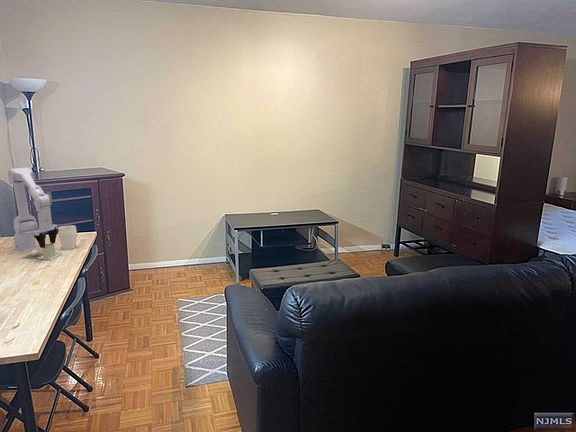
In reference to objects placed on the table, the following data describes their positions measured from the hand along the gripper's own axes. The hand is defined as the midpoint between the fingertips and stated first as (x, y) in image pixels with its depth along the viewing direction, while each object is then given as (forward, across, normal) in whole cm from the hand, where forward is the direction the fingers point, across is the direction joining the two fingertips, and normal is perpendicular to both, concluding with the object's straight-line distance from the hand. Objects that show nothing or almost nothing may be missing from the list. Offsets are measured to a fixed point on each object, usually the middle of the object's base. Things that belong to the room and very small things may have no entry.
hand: (47, 245), depth 214 cm
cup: (+7, +16, 0) cm, 17 cm away
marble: (+4, 0, +8) cm, 9 cm away
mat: (+6, 0, +4) cm, 8 cm away
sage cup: (+6, 0, 0) cm, 6 cm away
